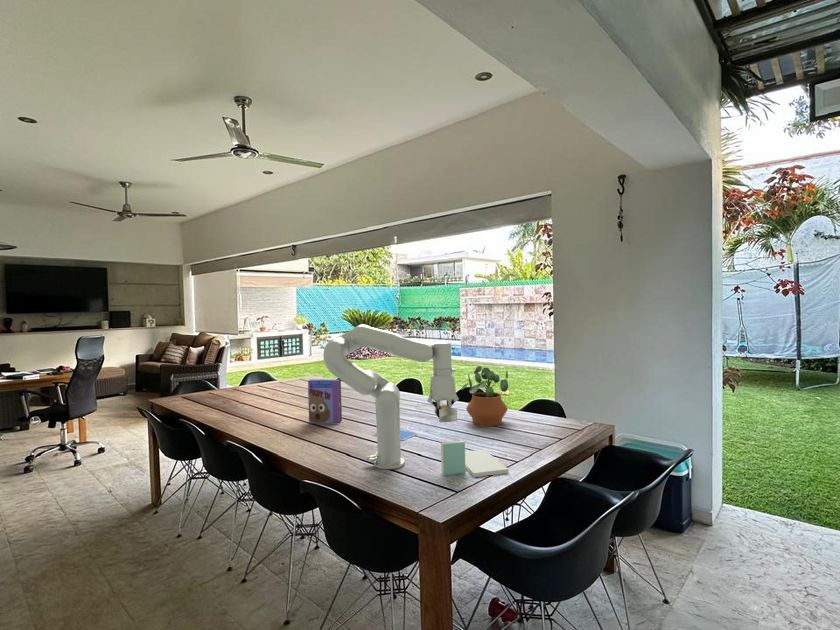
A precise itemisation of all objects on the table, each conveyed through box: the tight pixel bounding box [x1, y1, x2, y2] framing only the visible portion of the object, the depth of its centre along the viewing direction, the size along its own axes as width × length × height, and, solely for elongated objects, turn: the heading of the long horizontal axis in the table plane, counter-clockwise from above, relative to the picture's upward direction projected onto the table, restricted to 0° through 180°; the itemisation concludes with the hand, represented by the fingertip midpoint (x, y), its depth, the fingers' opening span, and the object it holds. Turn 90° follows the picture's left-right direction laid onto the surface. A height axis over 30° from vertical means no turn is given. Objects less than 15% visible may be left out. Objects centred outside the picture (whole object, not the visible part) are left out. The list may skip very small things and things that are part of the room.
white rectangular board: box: [465, 448, 509, 478], centre depth 180 cm, size 14×24×2 cm, turn 14°
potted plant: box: [460, 365, 509, 427], centre depth 240 cm, size 23×28×30 cm
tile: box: [440, 440, 467, 476], centre depth 171 cm, size 9×2×12 cm, turn 104°
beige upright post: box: [434, 401, 458, 423], centre depth 182 cm, size 7×15×5 cm, turn 14°
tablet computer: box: [373, 429, 418, 441], centre depth 224 cm, size 19×13×1 cm, turn 54°
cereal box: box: [307, 379, 343, 424], centre depth 250 cm, size 17×5×24 cm, turn 83°
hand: (443, 416), depth 182 cm, fingers closed on beige upright post, 3 cm apart
